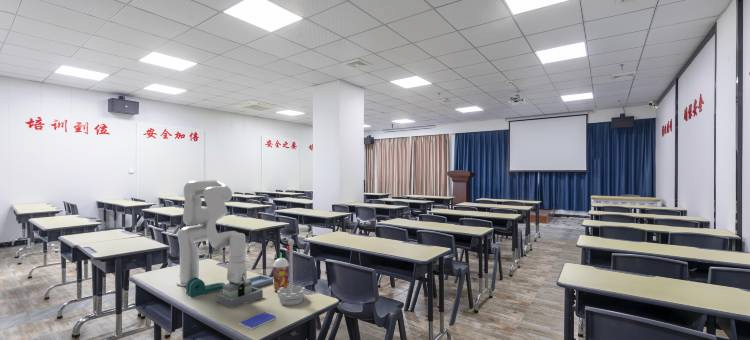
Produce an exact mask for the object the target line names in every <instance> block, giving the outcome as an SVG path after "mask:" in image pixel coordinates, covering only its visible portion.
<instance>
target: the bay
mask: <svg viewBox="0 0 750 340" xmlns="http://www.w3.org/2000/svg"><path fill="white" fill-rule="evenodd" d="M263 295H264V293H263V290H262V289H260V288H255V287H252V293H249V294H246V295H243V296H240V297H237V298H234V299H230V298H227V297H225V296H223V294H222V295H221V294H216V302H217V304H218V303H219V304H221V305H222V306H223V305H224V306H226V307H228V308H231V309H233V308H235V307H236V308H237V307H238V306H241V305H244V304H247V303H250V302H253V301H256V300H259V299H261V298H263Z"/></svg>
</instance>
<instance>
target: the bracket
mask: <svg viewBox="0 0 750 340" xmlns="http://www.w3.org/2000/svg"><path fill="white" fill-rule="evenodd" d="M205 284H206V283H205V282H204V281H203V279H202V280H200V279H199V278H197V277H193V278H191V279H189V280H188V282H187V284H186V286H185V287H186V294H187V295H188V296H189V298H192V297H196V296H201V295H207V294H209V293H213V292H218V291H223V285H225V282H215V283H211V284H206V285H205Z"/></svg>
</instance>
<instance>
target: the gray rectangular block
mask: <svg viewBox="0 0 750 340" xmlns="http://www.w3.org/2000/svg"><path fill="white" fill-rule="evenodd" d="M247 281H248V283H247V284H246V286H245V295H246V294H249V293H252V281H250V280H247ZM241 282H242V281H241ZM240 284H241V285H242V283H240ZM238 289H239V286H238V284H236V283H233V282H232V283H230V282H229V283H226V284H225V285H223V289H222V296H225V297H227V298H230V299H234V298H237V297H238Z"/></svg>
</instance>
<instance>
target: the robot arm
mask: <svg viewBox="0 0 750 340" xmlns="http://www.w3.org/2000/svg"><path fill="white" fill-rule="evenodd" d="M232 192H233V191H232V189H231V188H230V187H229V185H227V184H225V183H223V182H221V181H219V180H215V179H214V180H213V179H212V180H210V179H209V180H206V179H205V180H203V179H202V180H190V181H188V182H186V183H185V185H184V186H183V196H184V205H183V213H182V221H183V224H185V225H186V226H184V227H181V228H180V229H179V230H178V232H177V241H178V245H179V275H178V277H179V280H177V281H176V285H177V286H180V287H186V284H187V282H188V280H189V279H191V278H193V277H197V278H199V279H200V280H202V281H203V278H202V277H200V252H199V250H200V249H199V248H198V246H197V245H196V243H199V242H205V241H208V240H209V241H208V242H209V244H210V245H211V247H212V248H213V249H217V250H218V249H223V248H228V251H229V253H228V259H229V260H228V264H227V274H226V279H227V281H228V282H229V283H232V282H233V283H236V284H238V286H239V289H238V297H240V296H243V295H245V286H246V284H247V283H248V281H247V279H248V278H247V265H246V264H247V263H246V235H245V233H243V232H238V231H236V230H230V231H223V232H218V230H217V228H216V227H217V226H216V224H217V221H219V220H221V219H222V218H224V217H225V216H226V215H228V208H227V206H226V202H229V201H231V200H232V198H233V197H232V196H233V193H232ZM202 197H203V199H204V202H205V204H206V206H202V203H203V201H202ZM241 281H242V282H241ZM240 283H242V285H241V284H240Z"/></svg>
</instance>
